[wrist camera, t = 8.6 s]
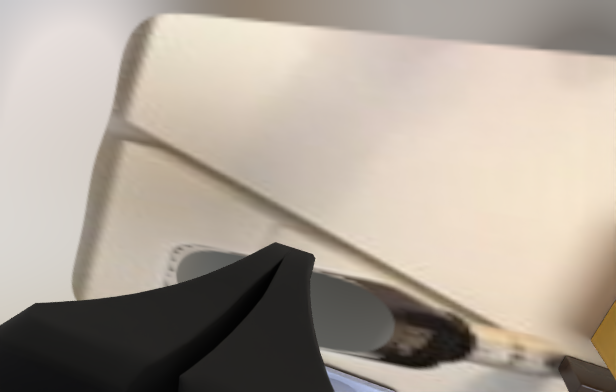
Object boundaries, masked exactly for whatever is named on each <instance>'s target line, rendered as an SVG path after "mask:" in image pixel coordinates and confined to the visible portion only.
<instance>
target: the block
mask: <svg viewBox="0 0 616 392" xmlns="http://www.w3.org/2000/svg"><path fill="white" fill-rule="evenodd" d="M591 342H592V343H593V345H594V346H595V348H596V350H597V351H598V353H599V354H600V356H601V357H602V359H603V361H604V362H605V364H606V365H607V367H608V368H609V370H610V371H611V373H612V375H613V376H614V378H615V379H616V301H615V302H614V304H613V305H612V307H611V309H610V310H609V312H608V313H607V315H606V317H605V318H604V320H603V321H602V323H601V325H600V326H599V328H598V329H597V331H596V333H595V334H594V336H593V337H592V339H591Z"/></svg>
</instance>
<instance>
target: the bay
mask: <svg viewBox="0 0 616 392" xmlns="http://www.w3.org/2000/svg"><path fill="white" fill-rule="evenodd" d="M558 370H559V372H560V374H561V376H562V378H563V380H564V382H565V385H566V387H567V389H568V391H569V392H616V379H615V378H614V376H613V375H612V373H611V371H610V370H608V369H605V368H602V367H599V366H596V365H593V364H590V363H587V362H584V361H580V360H577V359H574V358H571V357H568V356H566V357H565V359H564V360H563V362H562V363H561V365H560V367H559V369H558Z"/></svg>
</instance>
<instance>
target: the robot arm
mask: <svg viewBox="0 0 616 392" xmlns="http://www.w3.org/2000/svg"><path fill="white" fill-rule="evenodd" d="M314 262H315V257H314V255H313V254H311V253H308V252H305V251H301V250H298V249H295V248H292V247H289V246H286V245H283V244H279V243H276V242H275V243H273V244H271V245H269V246H267V247H265V248H263V249H261V250H259V251H257V252H255V253H253V254H251V255H249V256H247V257H245V258H243V259H241V260H239V261H237V262H235V263H233V264H230V265H228V266H226V267H223V268H221V269H219V270H216V271H213V272H211V273H209V274H206V275H203V276H201V277H198V278H195V279H192V280H188V281H186V282H182V283H178V284H175V285H171V286H167V287H163V288H158V289H154V290H149V291H145V292H140V293H135V294H129V295H123V296H117V297H109V298H101V299H92V300H81V301H65V302H50V303H35V304H33V305H32V306H30V307H28V308H27V309H25V310H24V311H22V312H21V313H19V314H17V315H16V316H14V317H13V318H11V319H10V320H8V321H6V322H5V323H3V324H2V325H0V392H395V391H392V390H389V389H387V388H384V387H381V386H378V385H376V384H373V383H370V382H368V381H365V380H362V379H359V378H357V377H354V376H351V375H348V374H346V373H343V372H340V371H337V370H335V369H332V368H329V367H326V366H325V365H324V362H323V359H322V356H321V354H320V350H319V346H318V343H317V339H316V335H315V330H314V324H313V318H312V311H311V301H310V278H311V274H312V270H313V266H314Z"/></svg>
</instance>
